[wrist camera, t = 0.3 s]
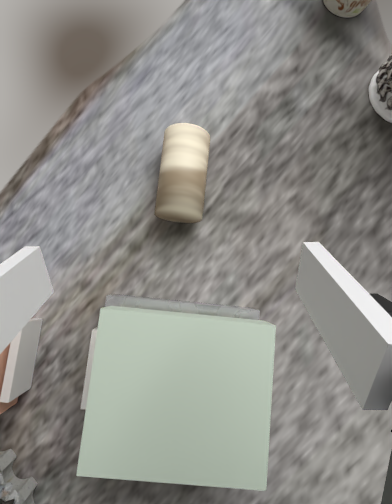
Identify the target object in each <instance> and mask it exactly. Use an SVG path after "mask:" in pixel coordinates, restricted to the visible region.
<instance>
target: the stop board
mask: <svg viewBox="0 0 392 504" xmlns="http://www.w3.org/2000/svg"><path fill="white" fill-rule="evenodd" d="M31 319H32V318H31ZM10 343H11V342H10ZM9 348H10V344H9V345H8V346H7V347H6V348H5V349H4V351H3V352H2V353H1V354H0V397H1V391H2V386H3V381H4V375H5V370H6V364H7V359H8V354H9ZM17 401H18V397H17V398H15V399H14V400H12V401H11V402H9V403H5V402H0V414H2V413H3V412H4V411H6V410H7V409H9V408H10V407H12V406H13V405H15V404H16V403H17Z"/></svg>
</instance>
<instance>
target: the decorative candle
mask: <svg viewBox="0 0 392 504" xmlns="http://www.w3.org/2000/svg"><path fill="white" fill-rule="evenodd" d="M368 91H369V99H370V102H371V104H372V106H373V108H374V110H375V111H376V113H378V114H379V115H380V116H381V117H382V118H383V119H384V120H386V121H388V122H390V123H392V54H391V55H390V57H389V58H388V60H387V61H386V62H385V63H384V64H382V65H381V67H380V68H379V71H378V72H377V73H376V74H375V75H374V76H373V77H372V79H371V82H370V85H369V88H368Z"/></svg>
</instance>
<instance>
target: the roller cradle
mask: <svg viewBox="0 0 392 504" xmlns="http://www.w3.org/2000/svg"><path fill="white" fill-rule="evenodd" d="M42 321H43V319H42V318H32V319H30V320H29V322H28V323H27V324H26V325H25V326H24V327H23V328H22V330H21V331H20V332H19V333H18V334H17V335H16V337H15V338H14V339H13V340H12V341H11V343H10V348H9V354H8V359H7V364H6V370H5V375H4V381H3V386H2V391H1V397H0V402H5V403H9V402H11V401H12V400H14V399H15V398H17V397H18V396H20V395H21V394H23V393H24V392H26V391H27V390H29V389H30V388H31V384H32V379H33V373H34V367H35V361H36V355H37V350H38V344H39V338H40V332H41V326H42ZM97 329H98V327H97V328H95V329H93V330H92V334H91V341H90V348H89V355H88V362H87V368H86V375H85V382H84V389H83V395H82V402H81V409H86V405H87V398H88V391H89V384H90V377H91V371H92V364H93V357H94V350H95V343H96V336H97Z"/></svg>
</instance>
